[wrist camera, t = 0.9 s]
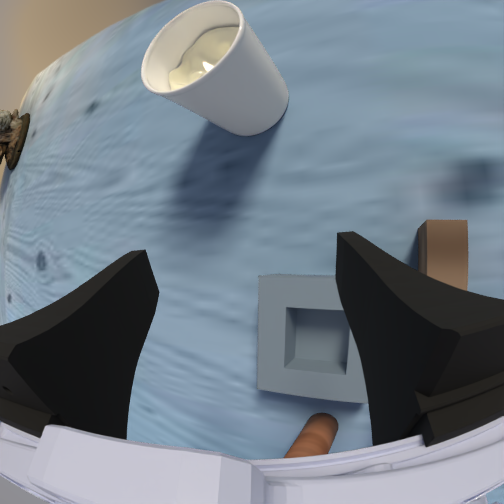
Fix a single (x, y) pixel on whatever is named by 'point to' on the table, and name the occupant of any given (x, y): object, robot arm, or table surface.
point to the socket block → (306, 340)
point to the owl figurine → (12, 136)
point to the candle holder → (216, 69)
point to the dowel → (315, 437)
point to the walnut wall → (444, 251)
